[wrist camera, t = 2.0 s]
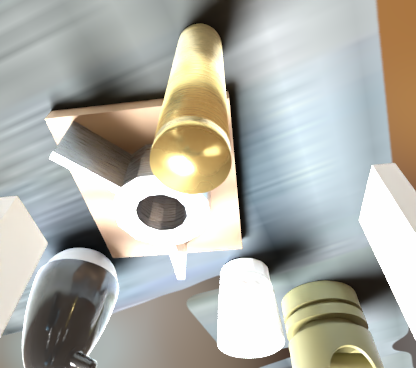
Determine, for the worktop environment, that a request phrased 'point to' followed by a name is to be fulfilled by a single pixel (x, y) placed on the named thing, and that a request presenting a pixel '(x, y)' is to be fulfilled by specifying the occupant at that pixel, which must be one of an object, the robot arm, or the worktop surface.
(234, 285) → the white cup
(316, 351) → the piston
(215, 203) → the mount board
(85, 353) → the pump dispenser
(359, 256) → the worktop surface
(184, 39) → the pin
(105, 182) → the white piece
